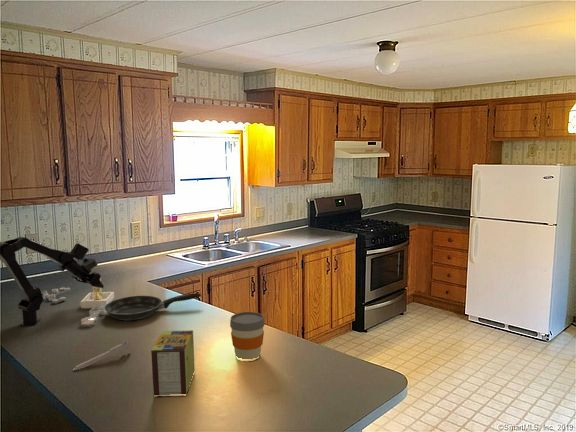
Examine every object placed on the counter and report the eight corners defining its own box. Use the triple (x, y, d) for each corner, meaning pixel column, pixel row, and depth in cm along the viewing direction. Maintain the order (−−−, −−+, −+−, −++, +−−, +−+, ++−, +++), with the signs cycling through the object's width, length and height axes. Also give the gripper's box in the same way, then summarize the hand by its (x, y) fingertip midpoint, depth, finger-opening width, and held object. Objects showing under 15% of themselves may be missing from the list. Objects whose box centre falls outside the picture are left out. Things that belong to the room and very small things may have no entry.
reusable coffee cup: (233, 366, 163) (232, 325, 161) (228, 351, 175) (227, 313, 173) (268, 361, 166) (267, 321, 164) (261, 347, 178) (260, 310, 176)
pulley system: (31, 308, 227) (65, 303, 231) (30, 299, 226) (64, 294, 231) (41, 294, 252) (71, 290, 257) (40, 286, 252) (70, 281, 256)
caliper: (129, 354, 174) (128, 338, 173) (131, 354, 173) (130, 338, 172) (72, 370, 161) (71, 353, 160) (73, 371, 160) (72, 354, 159)
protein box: (195, 373, 158) (193, 329, 156) (186, 397, 143) (185, 349, 141) (164, 373, 158) (162, 330, 156) (152, 397, 143) (150, 350, 140)
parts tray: (106, 307, 225) (106, 300, 224) (80, 308, 223) (80, 301, 223) (114, 298, 238) (113, 291, 238) (90, 299, 237) (89, 292, 237)
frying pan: (102, 327, 200) (101, 311, 199) (107, 308, 224) (106, 294, 223) (204, 316, 213) (204, 302, 212) (199, 299, 237) (198, 286, 236)
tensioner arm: (95, 326, 200) (94, 321, 200) (78, 327, 200) (78, 321, 199) (108, 309, 221) (108, 304, 221) (93, 310, 221) (93, 305, 220)
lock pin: (102, 302, 230) (101, 276, 228) (94, 303, 228) (92, 277, 226) (101, 299, 234) (100, 274, 232) (93, 301, 232) (91, 275, 230)
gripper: (95, 257, 218) (118, 275, 228) (76, 251, 230) (98, 269, 240) (80, 277, 213) (104, 294, 223) (61, 270, 225) (84, 287, 235)
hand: (98, 285), depth 230 cm, fingers open, 9 cm apart
